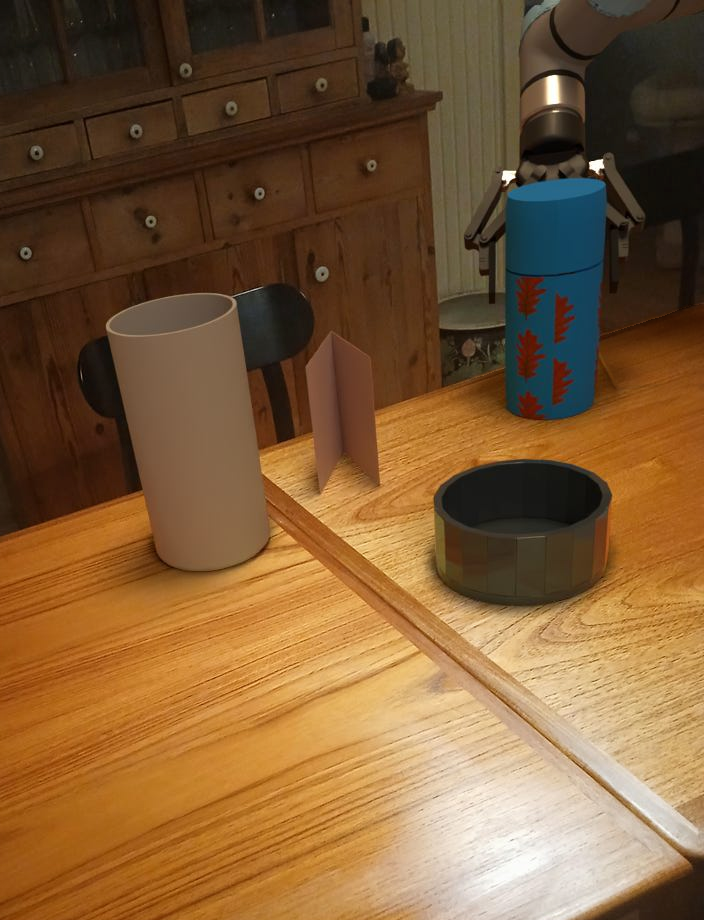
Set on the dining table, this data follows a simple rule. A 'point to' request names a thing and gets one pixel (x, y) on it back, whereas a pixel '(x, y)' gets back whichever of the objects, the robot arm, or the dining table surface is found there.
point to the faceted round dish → (522, 531)
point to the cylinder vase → (192, 428)
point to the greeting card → (342, 408)
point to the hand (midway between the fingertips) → (552, 293)
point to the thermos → (553, 296)
